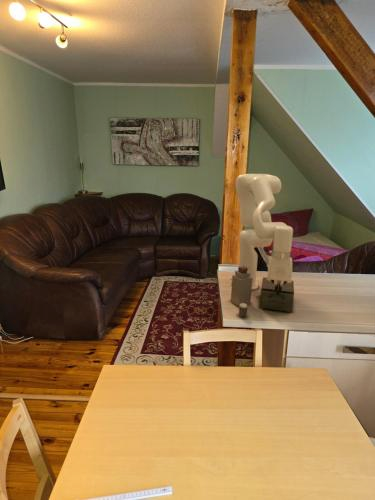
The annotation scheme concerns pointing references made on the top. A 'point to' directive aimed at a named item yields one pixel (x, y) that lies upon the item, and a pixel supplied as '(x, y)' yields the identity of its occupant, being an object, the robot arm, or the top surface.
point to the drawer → (276, 300)
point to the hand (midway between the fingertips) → (277, 293)
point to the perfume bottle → (241, 286)
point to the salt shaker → (243, 310)
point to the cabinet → (271, 287)
